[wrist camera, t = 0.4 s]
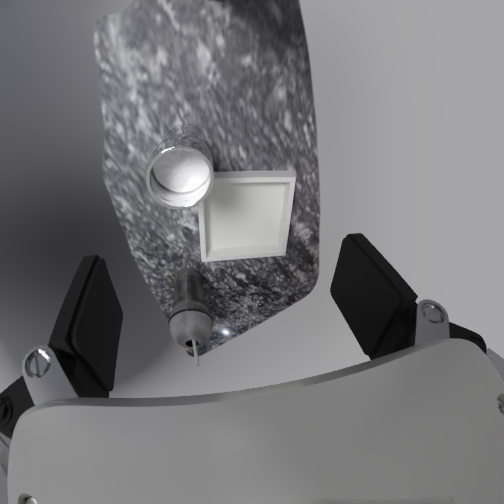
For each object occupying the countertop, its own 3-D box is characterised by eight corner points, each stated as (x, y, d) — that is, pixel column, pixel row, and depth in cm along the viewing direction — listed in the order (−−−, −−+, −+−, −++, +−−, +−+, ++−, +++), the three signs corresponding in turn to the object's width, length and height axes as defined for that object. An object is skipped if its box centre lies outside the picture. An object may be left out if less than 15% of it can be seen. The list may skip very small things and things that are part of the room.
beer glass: (191, 111, 33) (189, 129, 22) (217, 149, 38) (229, 186, 26) (151, 139, 35) (129, 173, 23) (178, 174, 39) (172, 224, 27)
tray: (196, 172, 39) (197, 179, 37) (289, 170, 42) (295, 177, 40) (200, 251, 48) (201, 261, 45) (280, 245, 50) (285, 255, 48)
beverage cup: (164, 283, 50) (161, 375, 35) (179, 256, 47) (180, 351, 32) (197, 295, 54) (205, 383, 38) (214, 270, 51) (229, 361, 35)
